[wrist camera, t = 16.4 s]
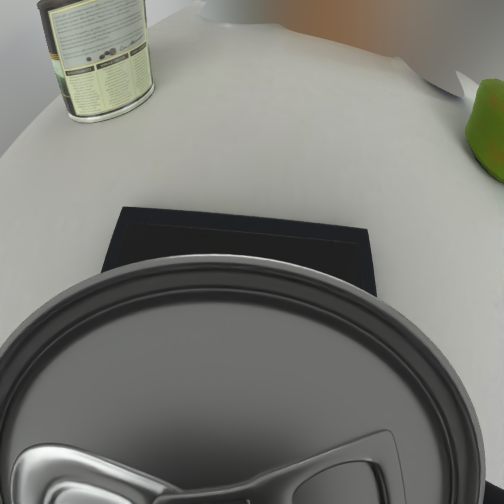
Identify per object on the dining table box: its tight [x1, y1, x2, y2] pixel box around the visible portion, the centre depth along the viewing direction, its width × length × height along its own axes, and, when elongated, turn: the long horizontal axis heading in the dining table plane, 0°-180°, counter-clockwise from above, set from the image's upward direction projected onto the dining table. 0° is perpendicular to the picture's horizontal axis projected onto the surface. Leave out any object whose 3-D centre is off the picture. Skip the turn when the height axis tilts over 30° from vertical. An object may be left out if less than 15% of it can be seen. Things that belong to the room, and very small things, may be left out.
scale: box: [101, 207, 377, 298], centre depth 14 cm, size 18×16×2 cm
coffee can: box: [37, 0, 155, 123], centre depth 21 cm, size 10×10×14 cm
